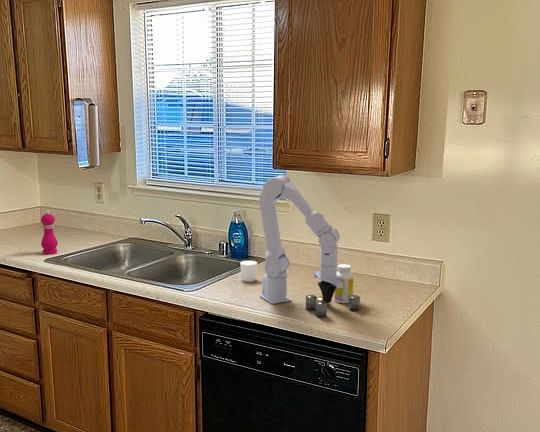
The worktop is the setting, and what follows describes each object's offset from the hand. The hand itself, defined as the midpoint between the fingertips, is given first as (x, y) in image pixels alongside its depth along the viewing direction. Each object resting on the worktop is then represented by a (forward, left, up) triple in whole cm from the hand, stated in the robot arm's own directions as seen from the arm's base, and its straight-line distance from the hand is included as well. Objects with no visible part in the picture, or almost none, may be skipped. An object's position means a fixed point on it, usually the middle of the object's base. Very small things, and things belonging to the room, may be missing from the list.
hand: (327, 302), depth 189 cm
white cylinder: (-40, -10, -2) cm, 42 cm away
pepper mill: (-119, -74, -2) cm, 140 cm away
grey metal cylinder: (+7, +7, -1) cm, 9 cm away
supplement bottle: (-2, +9, -2) cm, 9 cm away
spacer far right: (+7, -7, -1) cm, 10 cm away
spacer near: (0, -6, -1) cm, 7 cm away
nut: (-3, 0, -1) cm, 3 cm away
